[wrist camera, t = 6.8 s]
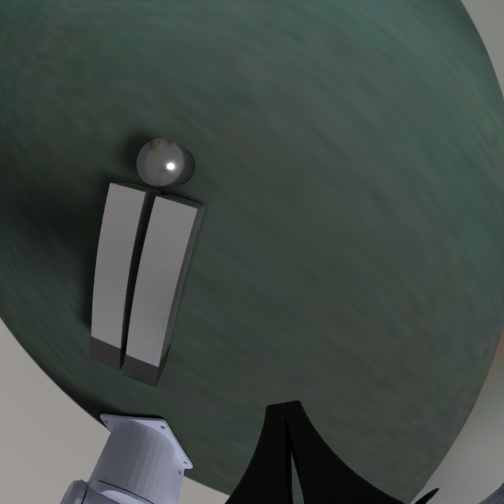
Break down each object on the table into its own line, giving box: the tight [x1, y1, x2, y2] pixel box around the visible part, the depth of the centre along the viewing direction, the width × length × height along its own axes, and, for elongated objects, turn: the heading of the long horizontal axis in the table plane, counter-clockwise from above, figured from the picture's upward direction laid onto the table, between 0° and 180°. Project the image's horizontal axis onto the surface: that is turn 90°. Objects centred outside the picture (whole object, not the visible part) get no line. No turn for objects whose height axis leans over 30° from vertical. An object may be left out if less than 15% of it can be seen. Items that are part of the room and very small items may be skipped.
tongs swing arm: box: [124, 195, 206, 387], centre depth 16 cm, size 13×2×3 cm, turn 161°
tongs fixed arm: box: [90, 138, 195, 371], centre depth 16 cm, size 16×4×3 cm, turn 163°
